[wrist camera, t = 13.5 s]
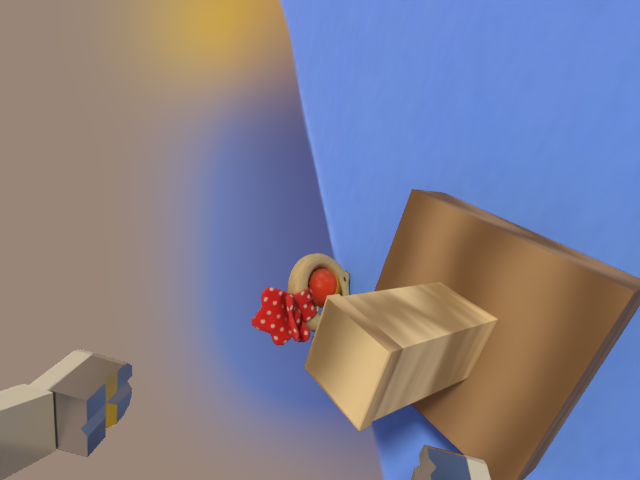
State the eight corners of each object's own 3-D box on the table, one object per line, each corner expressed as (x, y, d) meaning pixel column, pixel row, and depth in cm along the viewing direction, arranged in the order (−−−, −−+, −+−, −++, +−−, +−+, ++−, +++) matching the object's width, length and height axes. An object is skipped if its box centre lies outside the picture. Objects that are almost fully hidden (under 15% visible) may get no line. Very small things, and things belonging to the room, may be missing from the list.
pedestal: (652, 284, 21) (634, 291, 19) (534, 468, 26) (506, 495, 23) (443, 192, 31) (412, 189, 28) (384, 339, 35) (353, 348, 33)
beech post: (500, 318, 23) (391, 351, 17) (469, 379, 25) (359, 431, 19) (438, 279, 27) (327, 295, 20) (414, 336, 28) (304, 367, 22)
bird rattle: (341, 282, 43) (333, 369, 39) (253, 245, 37) (232, 341, 33) (384, 268, 38) (379, 364, 34) (290, 222, 33) (271, 330, 28)
